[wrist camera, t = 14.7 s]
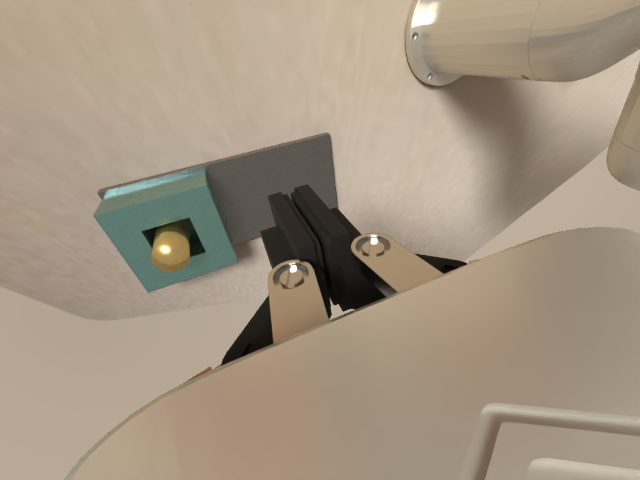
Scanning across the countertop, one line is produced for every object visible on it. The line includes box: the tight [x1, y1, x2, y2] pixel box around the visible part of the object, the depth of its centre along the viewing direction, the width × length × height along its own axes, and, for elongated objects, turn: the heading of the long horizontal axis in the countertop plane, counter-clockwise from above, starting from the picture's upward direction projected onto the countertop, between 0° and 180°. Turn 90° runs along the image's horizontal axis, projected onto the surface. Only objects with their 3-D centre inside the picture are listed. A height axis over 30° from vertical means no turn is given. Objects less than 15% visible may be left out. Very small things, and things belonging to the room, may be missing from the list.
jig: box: [93, 133, 338, 293], centre depth 36 cm, size 28×12×6 cm, turn 98°
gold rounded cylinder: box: [151, 218, 190, 272], centre depth 33 cm, size 4×4×8 cm
